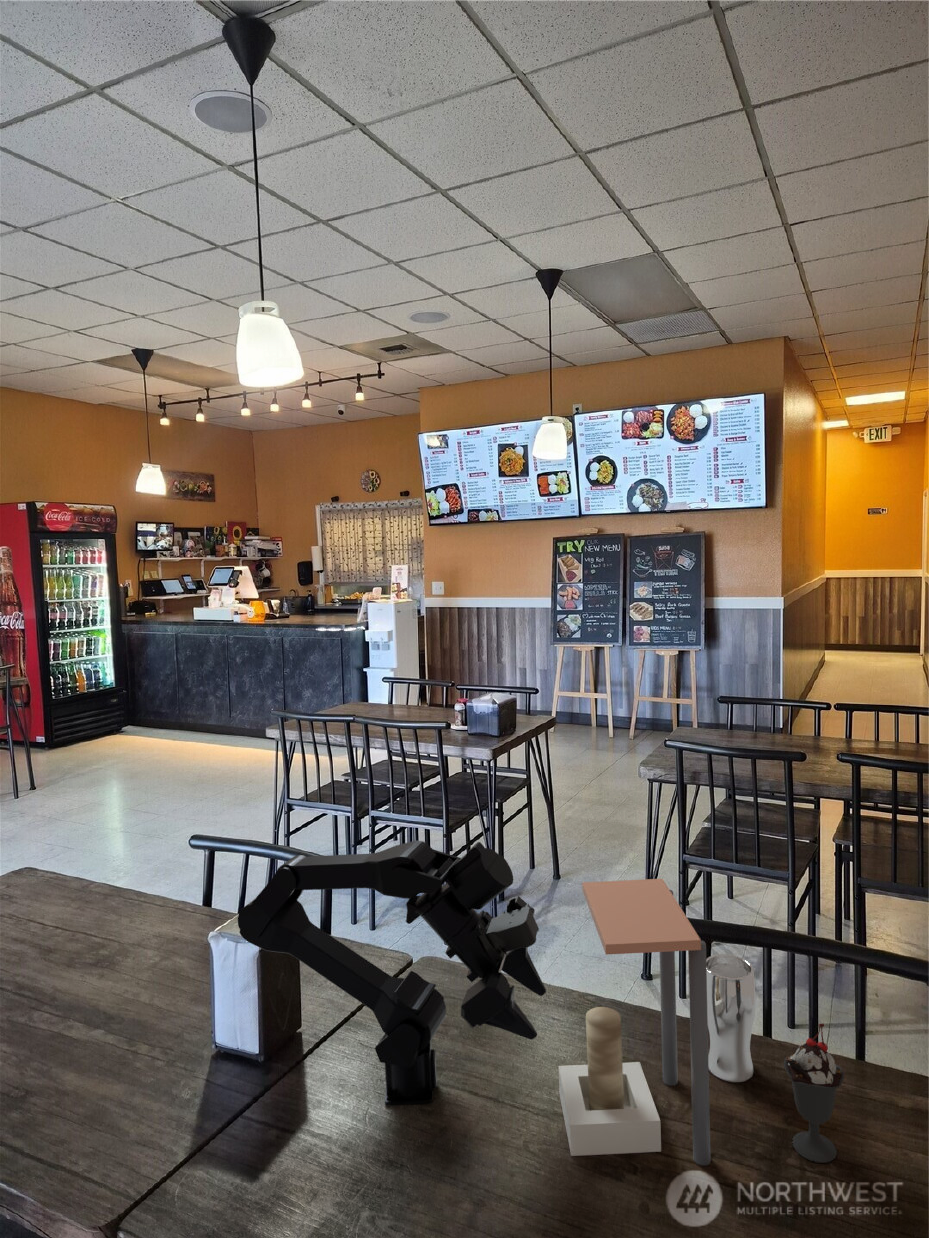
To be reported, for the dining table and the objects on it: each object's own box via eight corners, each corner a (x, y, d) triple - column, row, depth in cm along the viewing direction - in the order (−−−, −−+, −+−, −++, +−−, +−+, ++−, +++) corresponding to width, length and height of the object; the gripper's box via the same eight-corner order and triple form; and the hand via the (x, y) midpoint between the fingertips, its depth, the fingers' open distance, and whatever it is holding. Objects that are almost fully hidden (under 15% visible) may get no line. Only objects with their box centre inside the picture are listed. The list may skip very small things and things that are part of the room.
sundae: (840, 1132, 97) (839, 1017, 96) (847, 1173, 91) (847, 1051, 90) (783, 1122, 99) (781, 1009, 98) (786, 1161, 93) (785, 1042, 92)
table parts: (574, 1175, 92) (566, 946, 90) (556, 1078, 109) (549, 883, 107) (714, 1168, 93) (709, 939, 90) (674, 1072, 109) (669, 878, 107)
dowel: (586, 1121, 100) (582, 1023, 99) (593, 1098, 104) (590, 1004, 103) (620, 1128, 98) (616, 1029, 97) (627, 1105, 102) (623, 1010, 101)
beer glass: (760, 1087, 106) (759, 981, 105) (707, 1082, 107) (704, 977, 106) (752, 1054, 113) (750, 954, 111) (702, 1050, 114) (700, 951, 113)
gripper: (488, 927, 93) (578, 1026, 92) (513, 859, 111) (589, 942, 110) (424, 978, 96) (511, 1075, 95) (459, 904, 114) (532, 985, 113)
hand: (539, 1014), depth 103 cm, fingers open, 9 cm apart
